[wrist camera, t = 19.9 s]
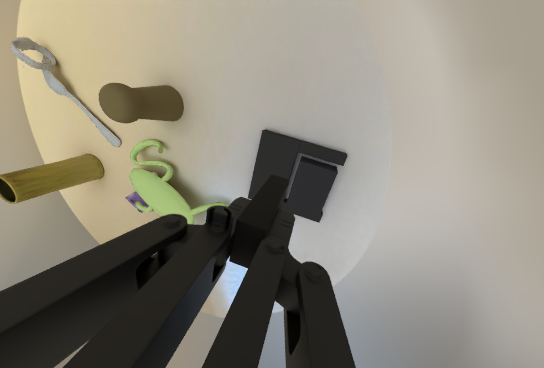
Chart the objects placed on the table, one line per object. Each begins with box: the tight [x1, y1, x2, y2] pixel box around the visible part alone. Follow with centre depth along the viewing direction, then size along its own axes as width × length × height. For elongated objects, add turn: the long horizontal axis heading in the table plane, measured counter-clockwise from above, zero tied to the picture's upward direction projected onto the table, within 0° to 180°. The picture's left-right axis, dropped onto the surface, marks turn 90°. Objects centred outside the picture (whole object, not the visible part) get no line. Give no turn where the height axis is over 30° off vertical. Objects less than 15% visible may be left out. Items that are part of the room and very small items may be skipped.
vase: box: [0, 154, 104, 204], centre depth 39 cm, size 6×6×14 cm
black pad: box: [248, 130, 347, 222], centre depth 34 cm, size 14×13×2 cm
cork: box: [99, 83, 184, 123], centre depth 31 cm, size 6×6×11 cm
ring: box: [10, 37, 56, 70], centre depth 36 cm, size 3×5×5 cm, turn 37°
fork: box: [42, 56, 121, 147], centre depth 40 cm, size 3×21×3 cm, turn 39°
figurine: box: [126, 140, 228, 224], centre depth 41 cm, size 18×27×6 cm
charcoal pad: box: [287, 156, 338, 215], centre depth 33 cm, size 6×8×3 cm
